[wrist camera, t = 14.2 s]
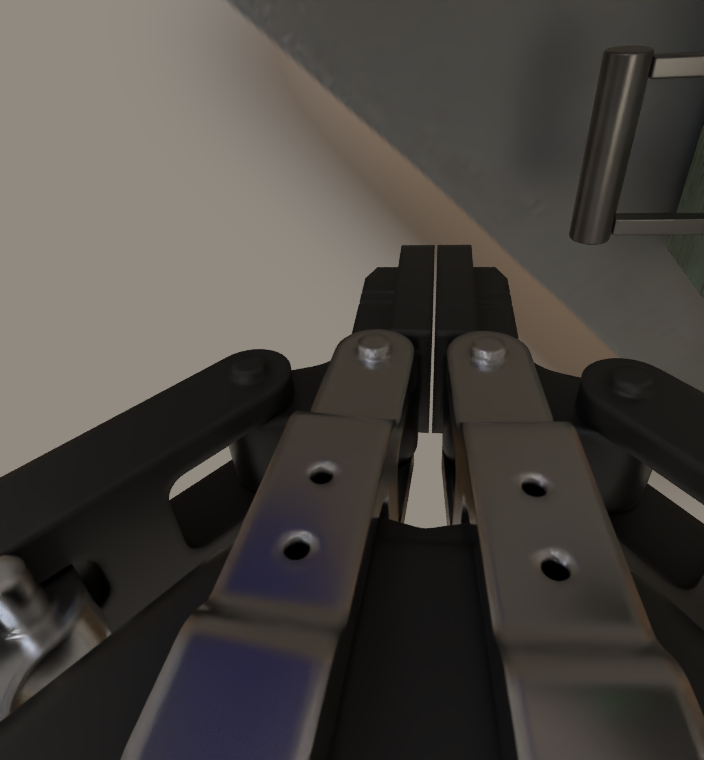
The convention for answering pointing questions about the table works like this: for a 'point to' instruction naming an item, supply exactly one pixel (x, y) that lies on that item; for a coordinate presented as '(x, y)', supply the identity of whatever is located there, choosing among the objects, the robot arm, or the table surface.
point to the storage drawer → (611, 154)
